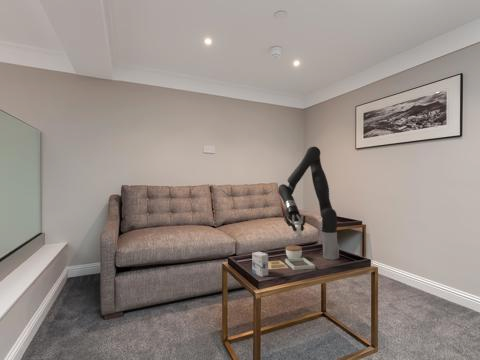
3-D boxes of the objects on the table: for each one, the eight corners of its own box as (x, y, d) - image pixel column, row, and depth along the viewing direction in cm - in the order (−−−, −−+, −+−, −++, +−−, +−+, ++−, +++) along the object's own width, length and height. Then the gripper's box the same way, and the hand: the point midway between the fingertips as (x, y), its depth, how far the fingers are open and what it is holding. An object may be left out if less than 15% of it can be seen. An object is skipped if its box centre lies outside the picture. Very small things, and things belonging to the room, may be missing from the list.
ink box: (252, 274, 138) (251, 252, 139) (259, 272, 141) (258, 251, 142) (262, 278, 131) (261, 255, 132) (269, 276, 134) (268, 254, 135)
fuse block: (282, 263, 157) (282, 259, 157) (288, 269, 145) (288, 265, 145) (264, 264, 155) (263, 260, 155) (268, 270, 143) (268, 266, 143)
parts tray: (304, 261, 159) (304, 257, 159) (315, 269, 142) (315, 265, 142) (285, 262, 157) (284, 258, 157) (294, 271, 141) (293, 266, 141)
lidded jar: (283, 257, 169) (282, 244, 169) (297, 256, 171) (297, 242, 172) (290, 262, 158) (289, 247, 159) (305, 260, 161) (304, 245, 161)
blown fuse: (300, 235, 153) (299, 221, 153) (302, 237, 149) (301, 221, 149) (293, 236, 152) (293, 221, 152) (296, 237, 148) (295, 222, 148)
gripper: (281, 205, 158) (288, 227, 145) (303, 204, 159) (312, 226, 147) (279, 212, 163) (286, 234, 150) (300, 212, 164) (308, 233, 152)
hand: (299, 230), depth 149 cm, fingers closed on blown fuse, 4 cm apart
